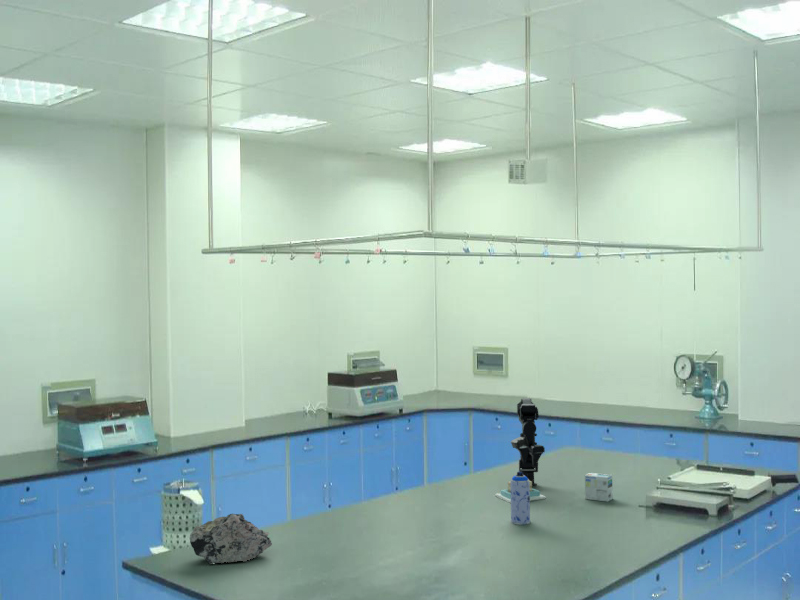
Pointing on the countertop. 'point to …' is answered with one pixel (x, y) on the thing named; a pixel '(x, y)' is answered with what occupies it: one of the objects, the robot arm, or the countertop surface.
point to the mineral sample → (229, 540)
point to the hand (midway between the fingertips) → (529, 465)
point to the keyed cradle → (507, 495)
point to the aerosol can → (520, 499)
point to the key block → (510, 486)
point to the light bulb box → (598, 487)
